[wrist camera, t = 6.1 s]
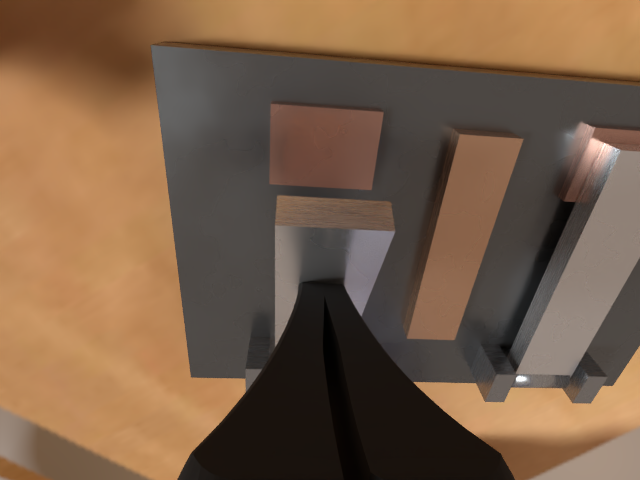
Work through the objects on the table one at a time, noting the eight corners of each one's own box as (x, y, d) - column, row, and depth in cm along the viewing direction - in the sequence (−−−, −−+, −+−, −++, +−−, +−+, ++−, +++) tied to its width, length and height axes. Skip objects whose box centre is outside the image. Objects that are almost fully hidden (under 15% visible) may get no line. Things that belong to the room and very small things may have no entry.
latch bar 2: (550, 372, 22) (565, 394, 20) (497, 371, 21) (509, 393, 20) (671, 145, 15) (703, 157, 14) (598, 140, 15) (624, 152, 14)
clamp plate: (596, 365, 24) (638, 416, 21) (197, 355, 22) (181, 410, 19) (764, 92, 16) (870, 111, 13) (164, 41, 14) (127, 50, 11)
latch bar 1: (333, 360, 21) (334, 387, 20) (276, 358, 21) (274, 386, 20) (390, 196, 11) (396, 237, 10) (277, 189, 10) (274, 232, 10)
